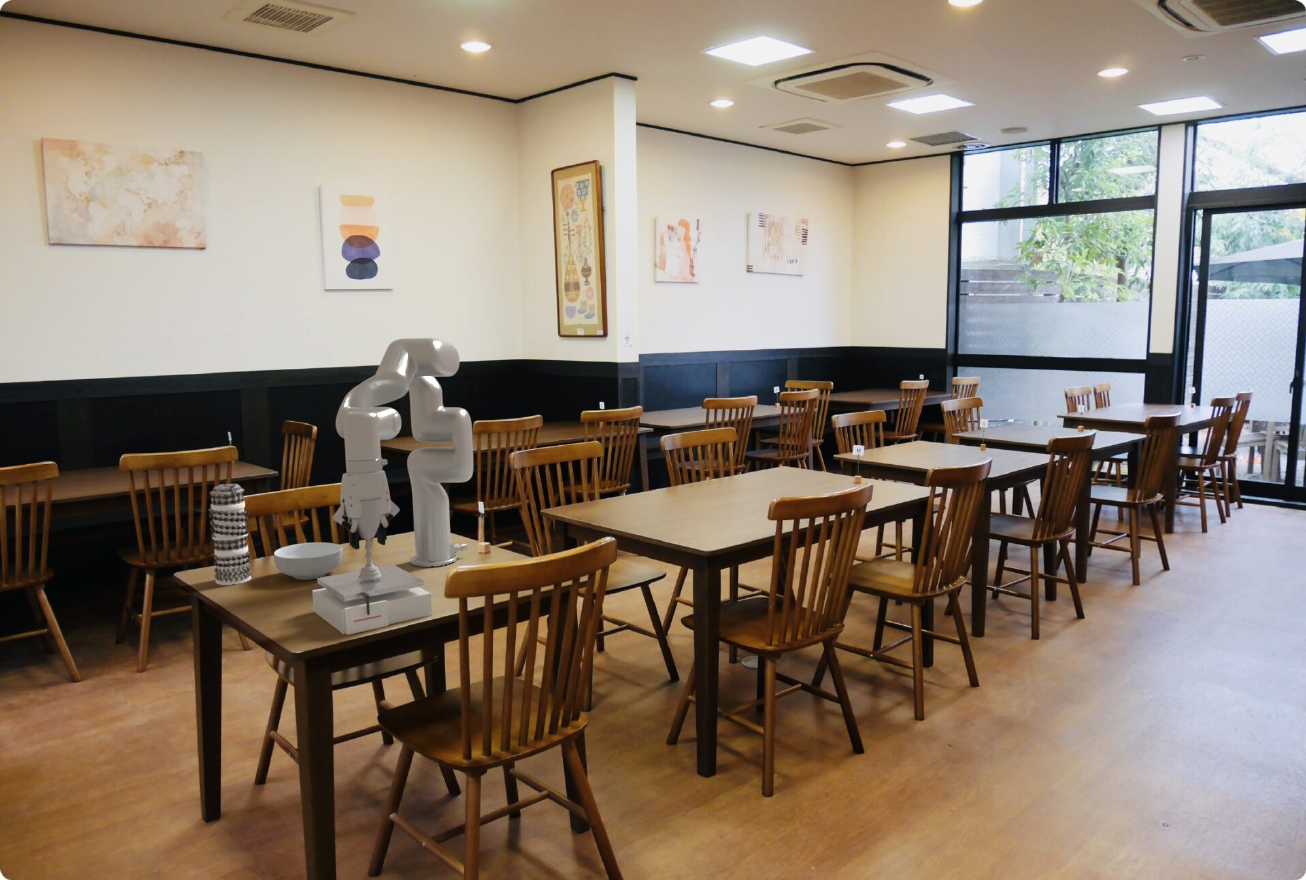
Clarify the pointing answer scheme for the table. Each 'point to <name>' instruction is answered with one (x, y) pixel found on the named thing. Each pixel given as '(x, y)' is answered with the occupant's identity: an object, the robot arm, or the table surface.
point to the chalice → (369, 535)
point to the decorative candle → (229, 534)
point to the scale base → (371, 609)
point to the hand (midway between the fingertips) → (368, 545)
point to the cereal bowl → (308, 559)
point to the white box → (369, 584)
